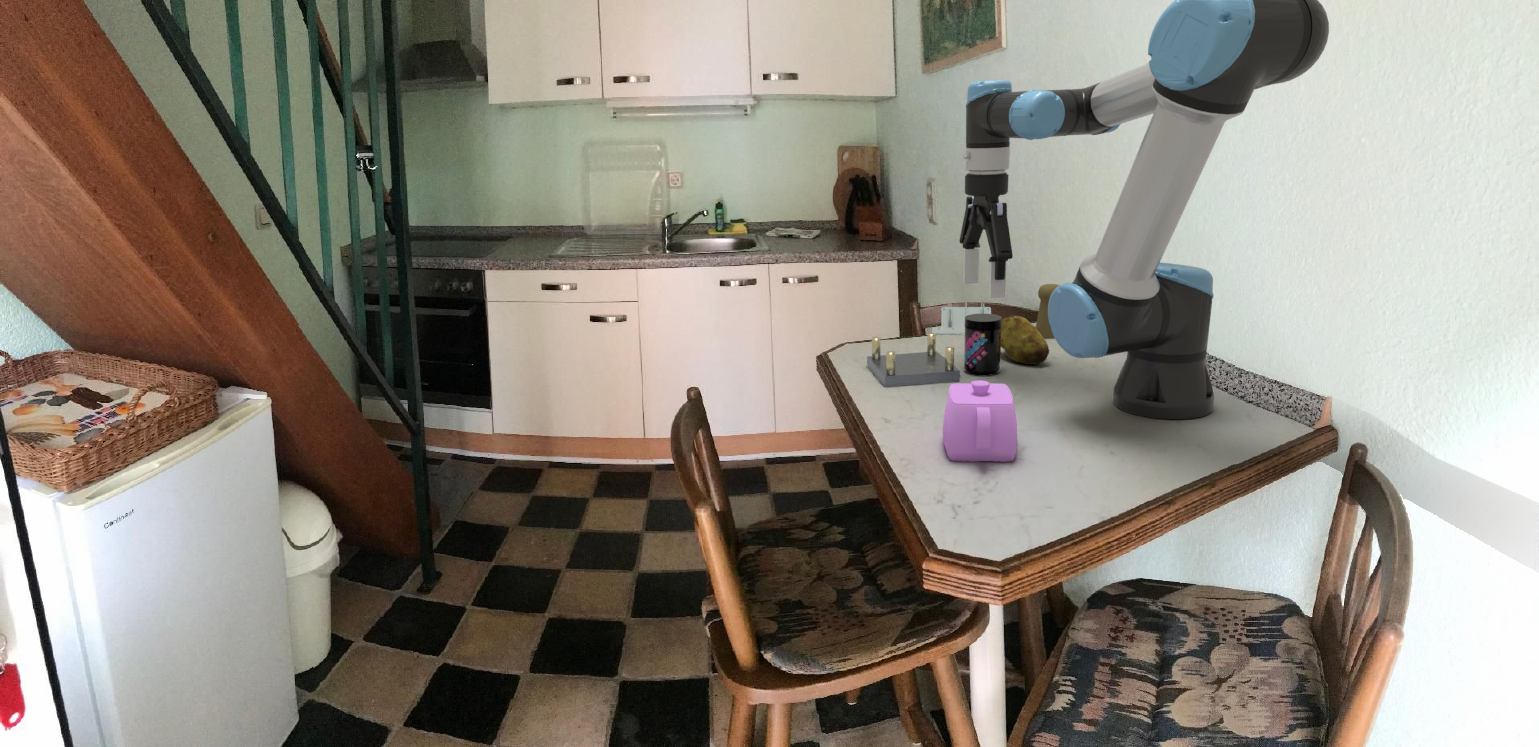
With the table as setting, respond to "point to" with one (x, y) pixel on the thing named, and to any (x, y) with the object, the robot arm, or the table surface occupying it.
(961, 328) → the metal bracket
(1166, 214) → the robot arm
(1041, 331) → the tan game pawn
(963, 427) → the teapot
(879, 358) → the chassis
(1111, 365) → the table surface
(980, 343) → the supplement container
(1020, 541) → the table surface
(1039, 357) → the potato
